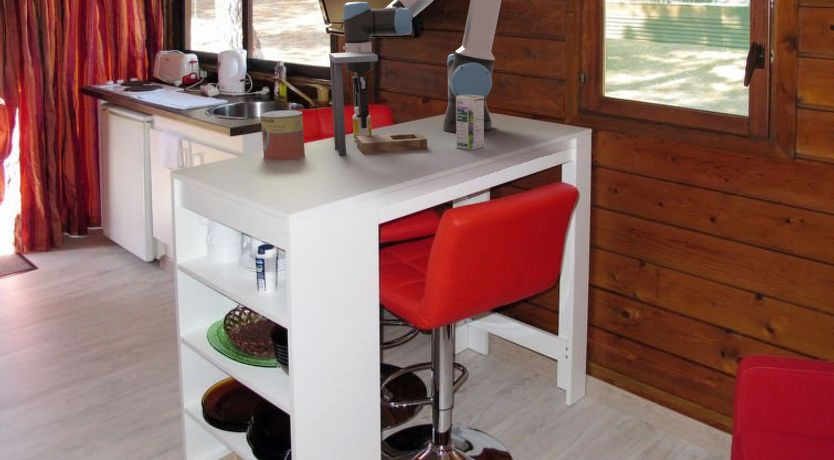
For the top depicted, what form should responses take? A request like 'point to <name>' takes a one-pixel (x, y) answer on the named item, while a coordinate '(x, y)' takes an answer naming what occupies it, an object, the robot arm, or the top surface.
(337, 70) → the grey l-shaped post
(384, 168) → the top surface
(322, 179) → the top surface
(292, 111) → the canned food
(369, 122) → the supplement bottle
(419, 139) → the socket block
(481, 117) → the syrup box
